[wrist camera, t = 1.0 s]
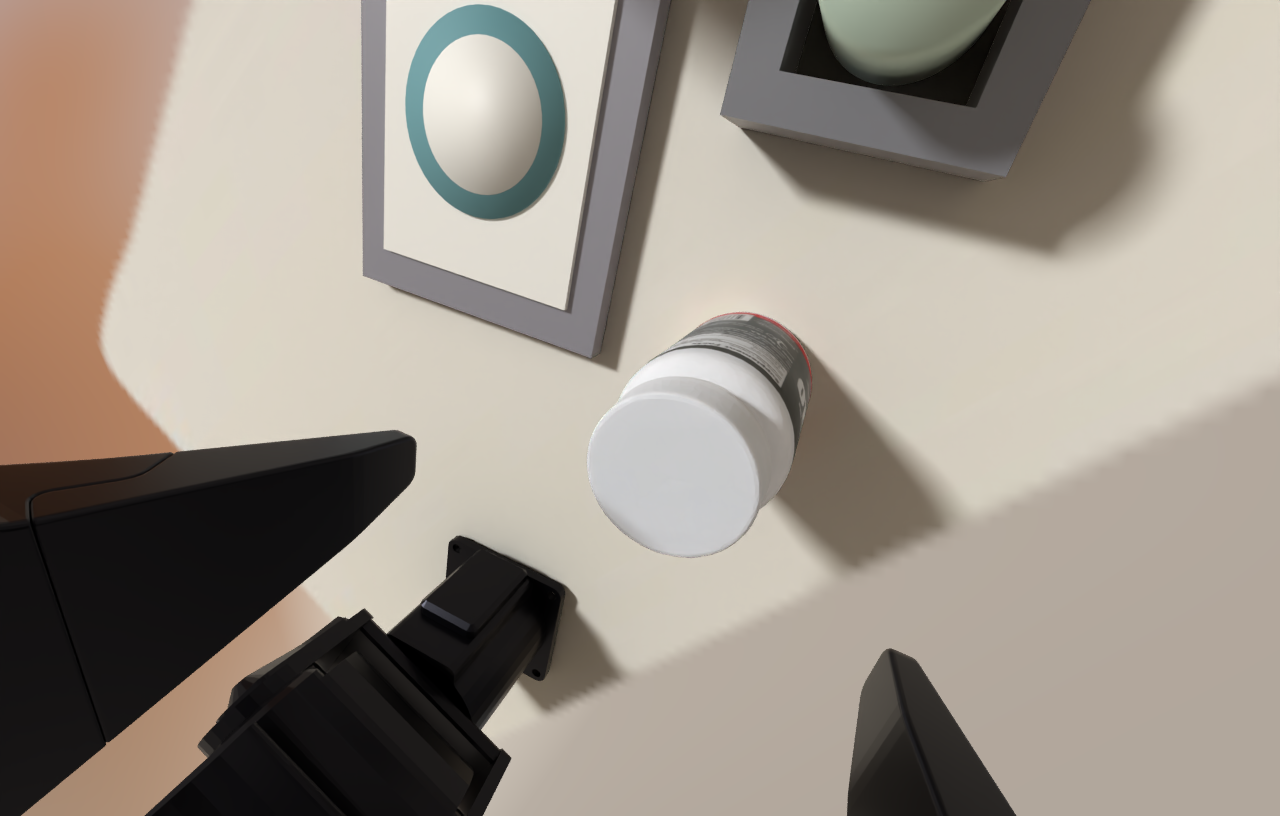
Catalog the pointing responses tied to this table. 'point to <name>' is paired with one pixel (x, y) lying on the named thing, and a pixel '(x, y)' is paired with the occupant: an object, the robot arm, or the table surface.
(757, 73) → the button housing
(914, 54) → the button
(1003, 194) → the table surface
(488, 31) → the grey flat plate
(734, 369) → the pill bottle
